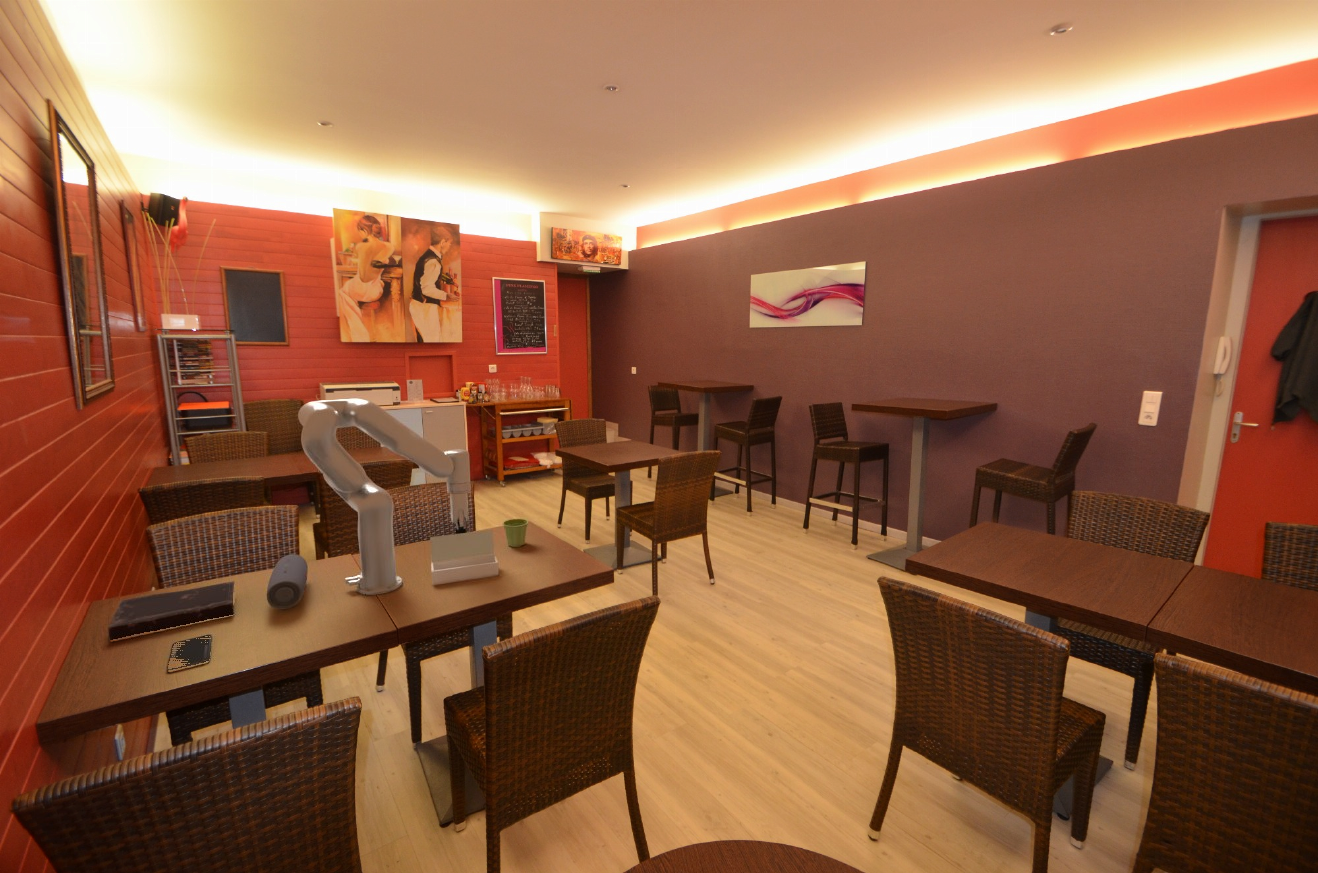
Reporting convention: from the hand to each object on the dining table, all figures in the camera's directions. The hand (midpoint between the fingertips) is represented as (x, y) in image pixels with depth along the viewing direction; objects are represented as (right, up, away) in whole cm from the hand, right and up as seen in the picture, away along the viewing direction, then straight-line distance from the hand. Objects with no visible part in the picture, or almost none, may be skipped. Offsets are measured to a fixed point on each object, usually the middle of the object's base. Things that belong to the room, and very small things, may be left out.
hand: (461, 539), depth 192 cm
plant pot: (+13, -6, +21) cm, 26 cm away
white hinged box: (+4, -10, -7) cm, 13 cm away
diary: (-66, -15, -35) cm, 76 cm away
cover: (+2, -1, -4) cm, 5 cm away
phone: (-47, -19, -54) cm, 74 cm away
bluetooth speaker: (-42, -13, -24) cm, 50 cm away
